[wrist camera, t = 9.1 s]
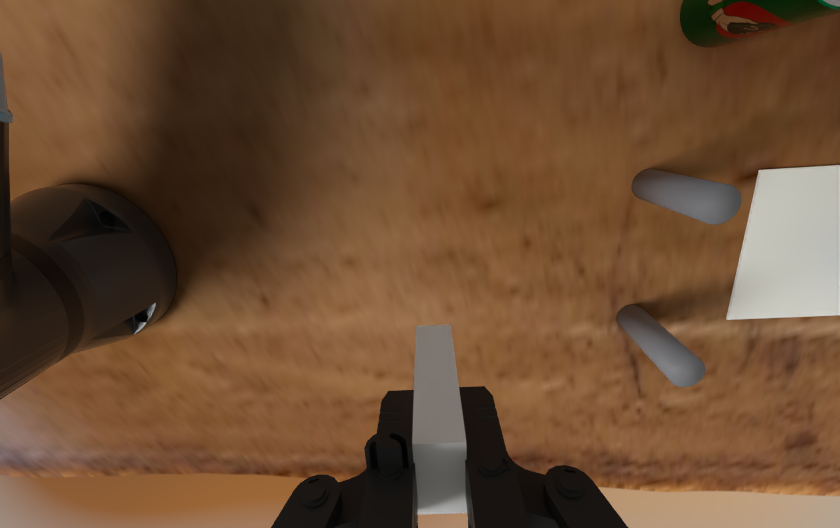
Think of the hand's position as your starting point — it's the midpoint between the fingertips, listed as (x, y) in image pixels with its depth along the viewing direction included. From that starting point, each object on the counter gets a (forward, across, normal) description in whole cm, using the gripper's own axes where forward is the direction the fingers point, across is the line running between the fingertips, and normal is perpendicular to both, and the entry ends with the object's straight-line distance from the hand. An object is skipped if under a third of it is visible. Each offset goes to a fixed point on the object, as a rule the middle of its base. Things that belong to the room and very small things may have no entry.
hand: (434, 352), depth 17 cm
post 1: (+19, +19, +4) cm, 27 cm away
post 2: (+19, +19, -9) cm, 28 cm away
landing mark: (+19, +35, -3) cm, 40 cm away
